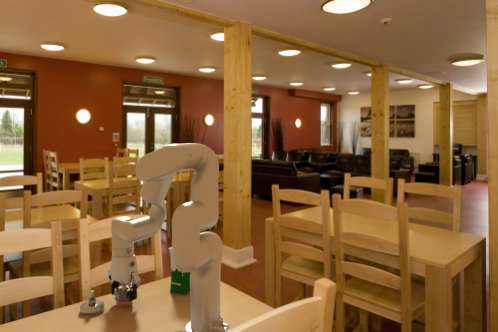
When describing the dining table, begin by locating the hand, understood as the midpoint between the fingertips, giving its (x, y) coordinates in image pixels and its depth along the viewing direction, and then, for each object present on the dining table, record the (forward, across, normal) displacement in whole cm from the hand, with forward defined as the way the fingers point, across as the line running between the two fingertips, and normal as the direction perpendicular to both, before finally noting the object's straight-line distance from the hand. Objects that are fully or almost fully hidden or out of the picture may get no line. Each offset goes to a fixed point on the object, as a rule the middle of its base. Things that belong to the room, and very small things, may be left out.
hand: (124, 296), depth 136 cm
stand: (+3, 0, 0) cm, 3 cm away
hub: (+3, +6, +9) cm, 11 cm away
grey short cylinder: (0, 0, 0) cm, 0 cm away
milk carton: (+3, -9, -21) cm, 23 cm away
